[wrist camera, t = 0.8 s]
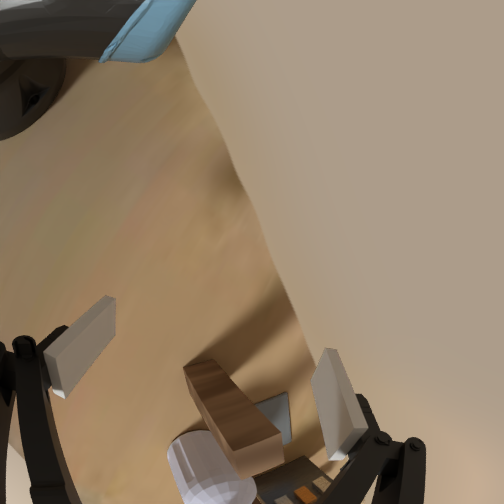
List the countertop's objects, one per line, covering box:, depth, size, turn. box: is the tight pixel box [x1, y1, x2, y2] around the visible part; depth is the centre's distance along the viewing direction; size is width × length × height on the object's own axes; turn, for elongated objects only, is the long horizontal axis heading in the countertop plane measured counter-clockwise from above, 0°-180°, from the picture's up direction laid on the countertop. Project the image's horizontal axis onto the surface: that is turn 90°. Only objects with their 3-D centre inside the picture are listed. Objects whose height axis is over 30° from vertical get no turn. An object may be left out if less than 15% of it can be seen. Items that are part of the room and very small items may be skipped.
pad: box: [254, 392, 291, 445], centre depth 35 cm, size 11×10×1 cm
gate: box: [183, 360, 285, 504], centre depth 25 cm, size 29×4×16 cm, turn 7°
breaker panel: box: [253, 455, 333, 504], centre depth 31 cm, size 4×12×14 cm, turn 97°
